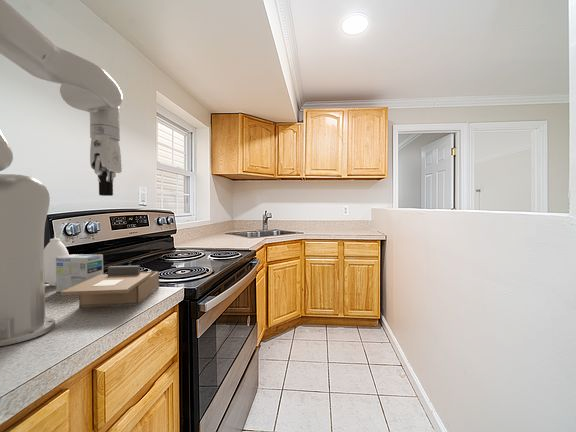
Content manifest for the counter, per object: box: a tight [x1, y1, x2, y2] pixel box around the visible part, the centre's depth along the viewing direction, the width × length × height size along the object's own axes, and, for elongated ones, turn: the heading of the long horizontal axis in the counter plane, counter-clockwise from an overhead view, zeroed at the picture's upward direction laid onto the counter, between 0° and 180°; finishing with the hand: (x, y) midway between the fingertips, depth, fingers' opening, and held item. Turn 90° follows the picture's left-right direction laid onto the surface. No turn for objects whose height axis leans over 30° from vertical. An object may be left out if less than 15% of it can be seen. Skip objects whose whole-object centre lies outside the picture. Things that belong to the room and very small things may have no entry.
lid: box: [60, 265, 152, 296], centre depth 76 cm, size 18×14×3 cm
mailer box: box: [78, 271, 160, 309], centre depth 83 cm, size 18×14×5 cm
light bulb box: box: [55, 253, 104, 293], centre depth 90 cm, size 11×7×11 cm, turn 84°
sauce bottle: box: [44, 230, 70, 287], centre depth 95 cm, size 8×8×18 cm
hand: (106, 195), depth 87 cm, fingers closed
